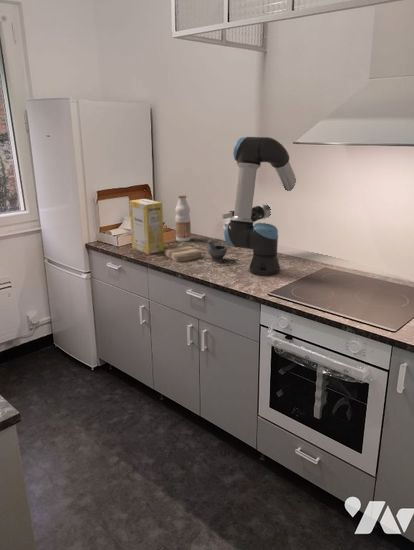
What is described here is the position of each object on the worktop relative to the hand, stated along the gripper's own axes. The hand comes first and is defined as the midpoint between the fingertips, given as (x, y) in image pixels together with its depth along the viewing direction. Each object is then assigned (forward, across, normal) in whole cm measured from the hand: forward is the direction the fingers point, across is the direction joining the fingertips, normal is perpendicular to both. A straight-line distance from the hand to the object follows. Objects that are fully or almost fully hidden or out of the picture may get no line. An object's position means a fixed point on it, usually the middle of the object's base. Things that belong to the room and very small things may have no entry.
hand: (230, 219), depth 243 cm
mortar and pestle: (+10, 0, -21) cm, 23 cm away
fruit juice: (0, +49, -23) cm, 54 cm away
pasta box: (+29, +43, -21) cm, 56 cm away
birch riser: (+20, +17, -21) cm, 34 cm away
